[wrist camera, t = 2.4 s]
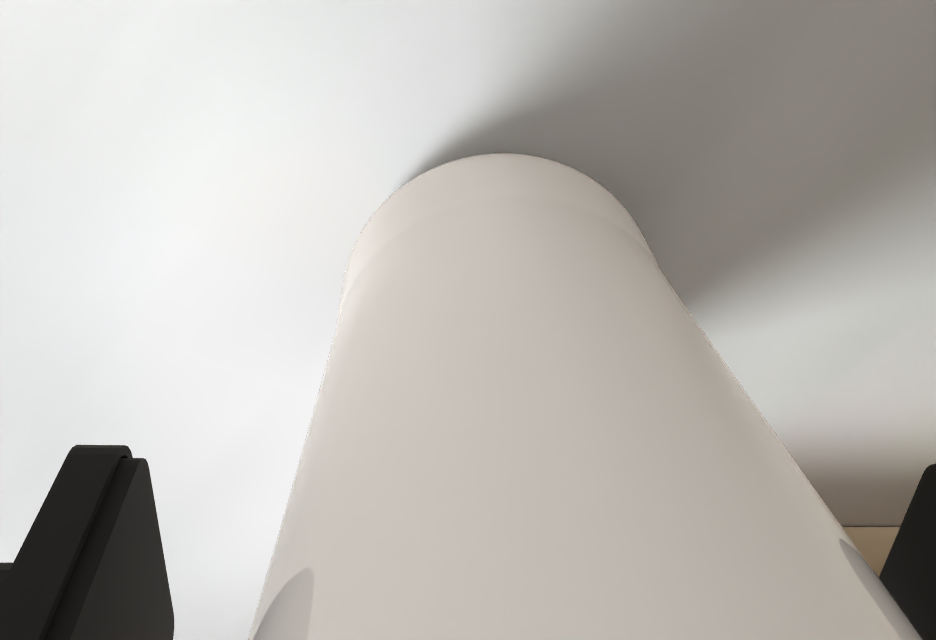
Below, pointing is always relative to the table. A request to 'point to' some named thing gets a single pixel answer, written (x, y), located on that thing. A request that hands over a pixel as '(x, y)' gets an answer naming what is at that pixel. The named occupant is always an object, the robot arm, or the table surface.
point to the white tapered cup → (544, 444)
